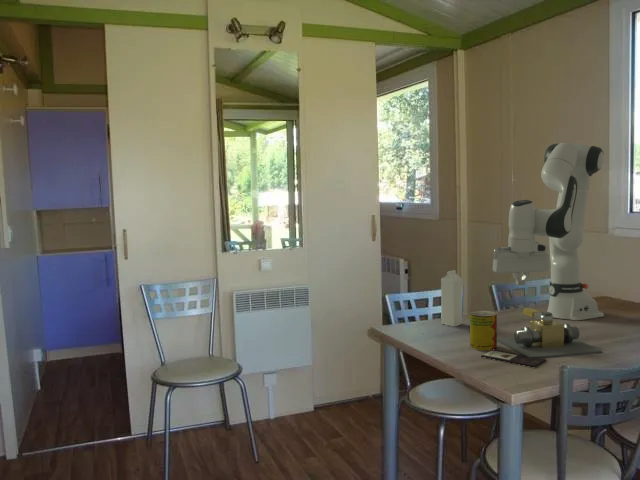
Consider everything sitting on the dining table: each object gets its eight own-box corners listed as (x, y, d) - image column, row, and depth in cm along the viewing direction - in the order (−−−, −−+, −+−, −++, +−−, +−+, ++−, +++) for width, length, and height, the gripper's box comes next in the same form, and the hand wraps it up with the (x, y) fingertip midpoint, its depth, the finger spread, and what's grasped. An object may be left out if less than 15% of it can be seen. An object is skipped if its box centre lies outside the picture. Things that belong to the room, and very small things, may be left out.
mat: (561, 334, 214) (561, 333, 214) (601, 352, 192) (601, 350, 192) (496, 340, 210) (496, 338, 210) (529, 358, 188) (529, 357, 187)
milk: (462, 324, 235) (462, 270, 233) (453, 326, 231) (453, 272, 229) (449, 321, 239) (449, 268, 237) (441, 324, 235) (440, 270, 233)
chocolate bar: (534, 366, 179) (481, 355, 191) (534, 369, 179) (481, 358, 191) (546, 359, 185) (493, 349, 197) (546, 362, 185) (493, 352, 197)
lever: (555, 322, 198) (555, 313, 198) (544, 323, 198) (544, 314, 197) (532, 313, 213) (532, 304, 213) (522, 313, 213) (522, 305, 212)
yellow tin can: (491, 352, 196) (491, 317, 195) (466, 348, 202) (465, 314, 200) (500, 345, 203) (500, 312, 202) (476, 342, 209) (475, 309, 207)
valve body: (568, 338, 207) (569, 318, 206) (582, 345, 199) (582, 323, 198) (511, 343, 203) (511, 322, 202) (523, 350, 195) (523, 328, 194)
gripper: (498, 248, 200) (497, 287, 202) (552, 246, 204) (551, 285, 205) (489, 246, 207) (489, 284, 208) (542, 244, 210) (541, 281, 212)
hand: (520, 284), depth 207 cm, fingers closed
